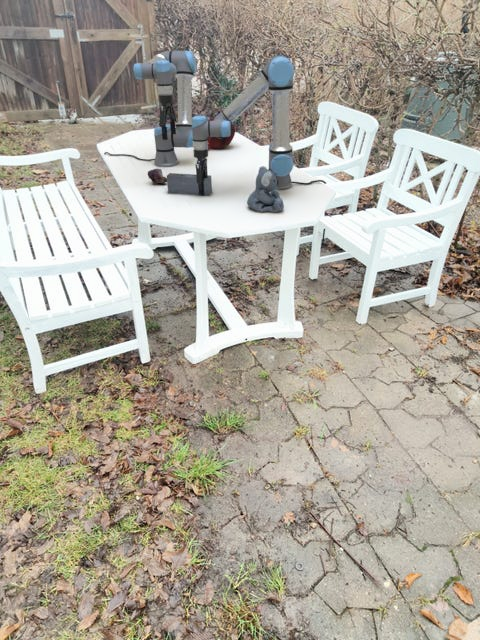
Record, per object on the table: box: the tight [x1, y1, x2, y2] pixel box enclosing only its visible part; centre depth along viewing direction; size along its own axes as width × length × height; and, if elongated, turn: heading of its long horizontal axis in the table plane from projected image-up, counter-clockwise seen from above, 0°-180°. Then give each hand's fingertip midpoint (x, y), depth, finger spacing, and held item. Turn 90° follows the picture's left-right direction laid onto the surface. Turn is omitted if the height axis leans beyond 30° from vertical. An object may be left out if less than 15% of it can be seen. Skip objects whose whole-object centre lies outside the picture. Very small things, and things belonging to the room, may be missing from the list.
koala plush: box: [246, 165, 285, 213], centre depth 222 cm, size 17×18×20 cm
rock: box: [147, 168, 167, 185], centre depth 259 cm, size 12×9×10 cm
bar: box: [165, 172, 213, 197], centre depth 244 cm, size 24×5×10 cm, turn 77°
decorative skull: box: [207, 116, 236, 152], centre depth 325 cm, size 21×24×25 cm
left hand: (169, 136), depth 249 cm, fingers open, 13 cm apart
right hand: (203, 193), depth 245 cm, fingers closed on bar, 5 cm apart
